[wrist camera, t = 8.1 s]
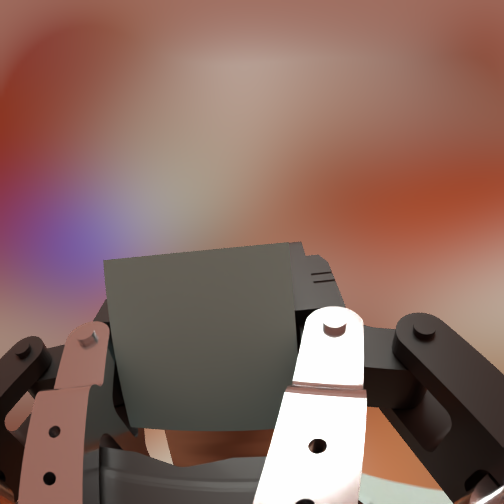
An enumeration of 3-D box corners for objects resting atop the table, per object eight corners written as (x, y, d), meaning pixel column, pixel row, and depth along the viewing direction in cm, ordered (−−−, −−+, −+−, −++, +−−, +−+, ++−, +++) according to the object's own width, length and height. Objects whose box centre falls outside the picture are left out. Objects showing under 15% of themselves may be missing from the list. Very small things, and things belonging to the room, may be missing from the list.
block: (130, 426, 6) (103, 260, 6) (235, 303, 30) (231, 262, 30) (301, 426, 6) (288, 242, 6) (276, 300, 30) (272, 258, 30)
